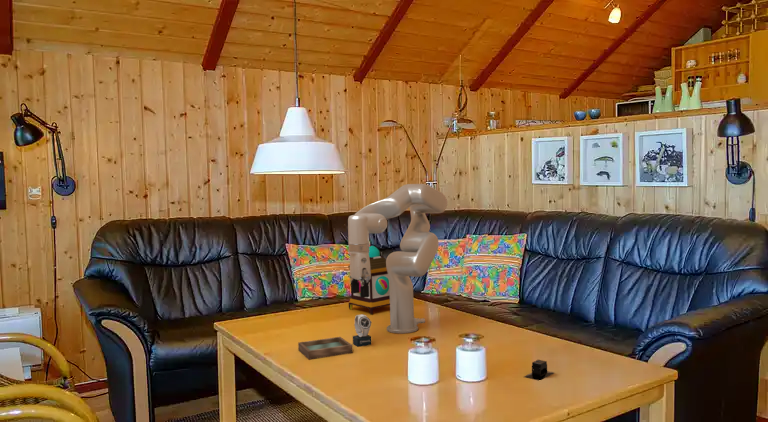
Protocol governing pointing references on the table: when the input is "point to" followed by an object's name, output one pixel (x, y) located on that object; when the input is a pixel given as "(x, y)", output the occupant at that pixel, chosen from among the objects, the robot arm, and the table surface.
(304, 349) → the watch tray
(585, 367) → the table surface
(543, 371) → the black block
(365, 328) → the watch
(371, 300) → the decorative lantern
